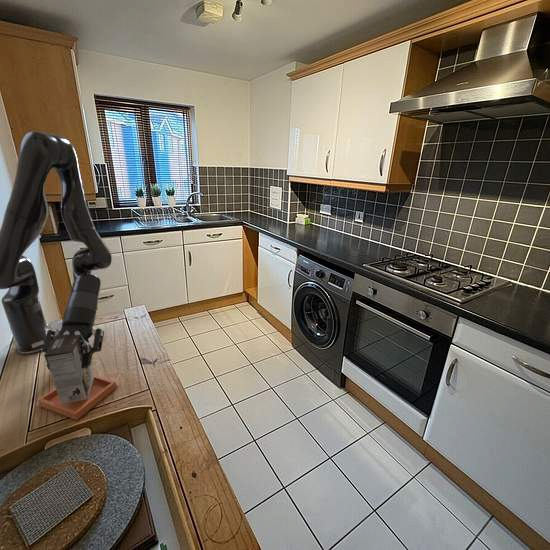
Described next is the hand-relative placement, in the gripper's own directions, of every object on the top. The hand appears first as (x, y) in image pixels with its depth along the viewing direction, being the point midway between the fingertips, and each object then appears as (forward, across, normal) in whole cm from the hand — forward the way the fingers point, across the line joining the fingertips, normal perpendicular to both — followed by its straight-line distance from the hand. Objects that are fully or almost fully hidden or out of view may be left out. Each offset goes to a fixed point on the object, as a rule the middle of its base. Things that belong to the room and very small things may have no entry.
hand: (68, 368), depth 77 cm
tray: (+6, 0, +8) cm, 11 cm away
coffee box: (+5, 0, +7) cm, 9 cm away
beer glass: (-4, -11, +19) cm, 22 cm away
